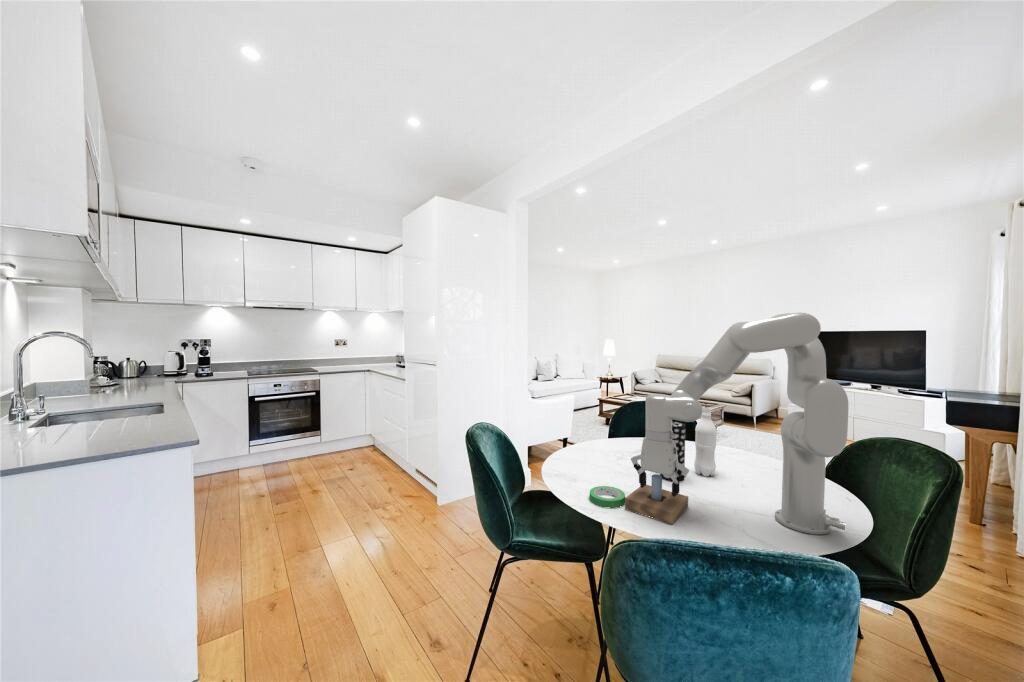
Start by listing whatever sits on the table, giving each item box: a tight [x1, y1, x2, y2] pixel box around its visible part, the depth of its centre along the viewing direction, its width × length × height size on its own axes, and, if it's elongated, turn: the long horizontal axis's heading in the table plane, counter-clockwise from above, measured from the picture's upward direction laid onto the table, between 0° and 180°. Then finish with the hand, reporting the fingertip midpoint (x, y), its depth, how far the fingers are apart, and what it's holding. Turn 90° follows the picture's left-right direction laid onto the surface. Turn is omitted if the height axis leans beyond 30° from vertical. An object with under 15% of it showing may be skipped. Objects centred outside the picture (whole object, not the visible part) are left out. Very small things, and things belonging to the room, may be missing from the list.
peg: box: [650, 473, 663, 502], centre depth 116 cm, size 3×3×10 cm
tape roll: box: [589, 485, 626, 509], centre depth 122 cm, size 11×11×3 cm
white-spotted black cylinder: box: [659, 420, 686, 483], centre depth 140 cm, size 8×8×20 cm
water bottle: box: [693, 407, 717, 477], centre depth 144 cm, size 7×7×25 cm
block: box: [624, 484, 689, 526], centre depth 116 cm, size 14×14×4 cm
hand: (658, 490), depth 116 cm, fingers open, 9 cm apart
